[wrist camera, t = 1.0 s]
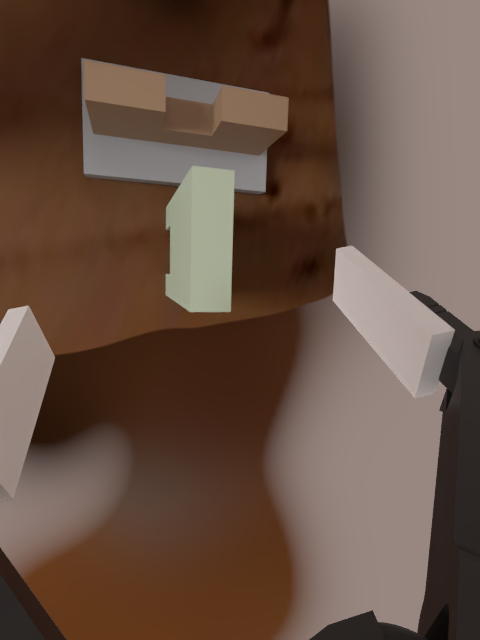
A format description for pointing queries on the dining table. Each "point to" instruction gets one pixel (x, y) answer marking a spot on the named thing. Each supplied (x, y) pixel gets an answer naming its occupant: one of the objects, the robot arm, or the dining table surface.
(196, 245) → the green plank
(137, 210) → the dining table surface
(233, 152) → the brown grey slotted block
